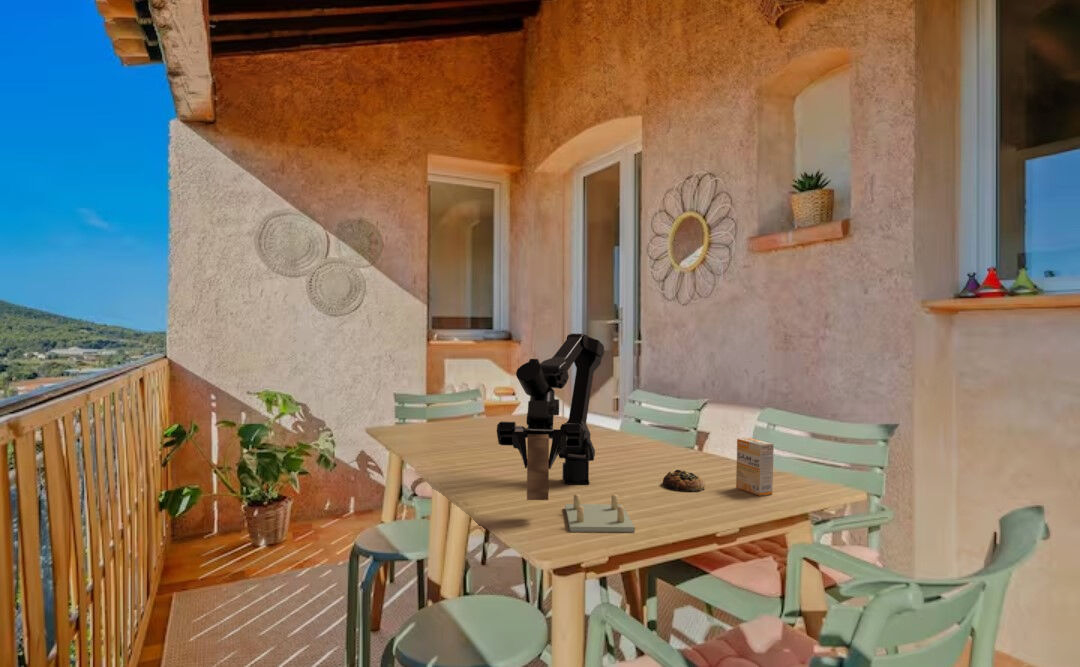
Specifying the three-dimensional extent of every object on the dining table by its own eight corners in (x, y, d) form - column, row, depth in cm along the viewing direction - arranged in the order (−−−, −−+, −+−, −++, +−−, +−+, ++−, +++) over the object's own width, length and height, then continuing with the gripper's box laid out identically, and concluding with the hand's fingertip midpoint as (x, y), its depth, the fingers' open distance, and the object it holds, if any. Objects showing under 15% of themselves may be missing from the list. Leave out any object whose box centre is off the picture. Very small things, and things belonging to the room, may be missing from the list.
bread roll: (654, 486, 147) (657, 467, 148) (673, 484, 156) (675, 466, 156) (694, 496, 140) (696, 476, 141) (712, 493, 149) (714, 474, 149)
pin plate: (622, 508, 128) (622, 491, 128) (634, 532, 113) (634, 512, 113) (565, 508, 128) (565, 490, 128) (570, 531, 113) (570, 511, 113)
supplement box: (735, 488, 147) (735, 438, 147) (748, 486, 149) (749, 437, 149) (759, 496, 139) (760, 444, 139) (773, 494, 141) (774, 442, 141)
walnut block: (547, 493, 122) (548, 434, 122) (548, 500, 118) (548, 438, 118) (527, 493, 122) (527, 434, 122) (526, 500, 118) (527, 438, 118)
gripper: (498, 385, 125) (489, 444, 114) (582, 386, 123) (582, 447, 112) (502, 415, 132) (495, 474, 121) (581, 417, 131) (581, 476, 120)
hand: (537, 467), depth 119 cm, fingers closed on walnut block, 5 cm apart
